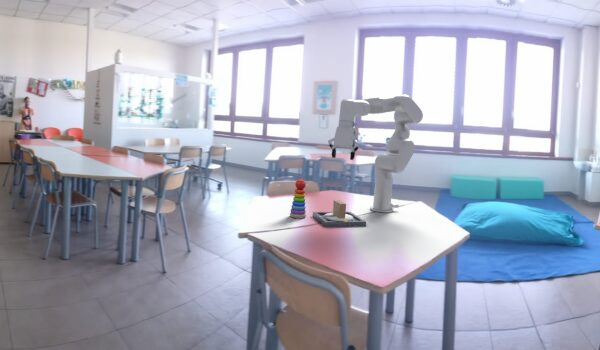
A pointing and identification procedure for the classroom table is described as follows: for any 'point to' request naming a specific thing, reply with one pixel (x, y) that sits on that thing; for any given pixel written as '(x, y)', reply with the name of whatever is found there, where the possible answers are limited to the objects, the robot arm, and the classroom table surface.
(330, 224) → the dial housing
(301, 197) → the stacking toy
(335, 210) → the dial
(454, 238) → the classroom table surface
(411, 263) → the classroom table surface
